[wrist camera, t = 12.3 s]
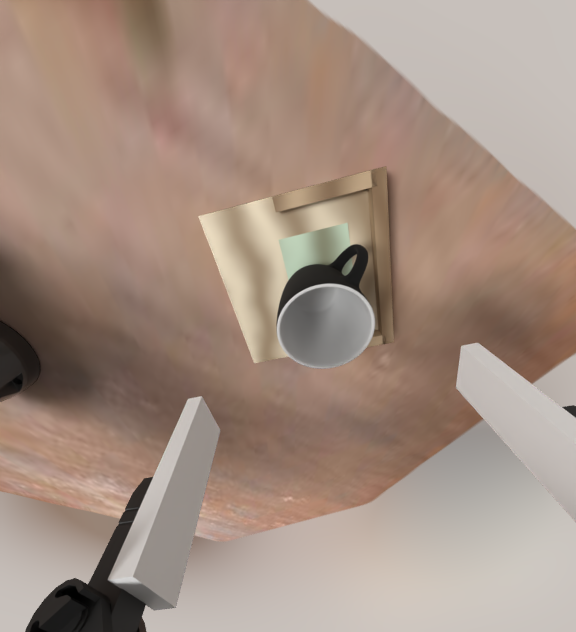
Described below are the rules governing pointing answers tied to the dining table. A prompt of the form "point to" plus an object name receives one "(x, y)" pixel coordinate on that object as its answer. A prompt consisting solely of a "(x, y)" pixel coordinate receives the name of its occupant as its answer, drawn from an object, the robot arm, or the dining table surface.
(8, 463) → the dining table surface
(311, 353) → the mug
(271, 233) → the board
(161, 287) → the dining table surface
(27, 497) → the dining table surface
